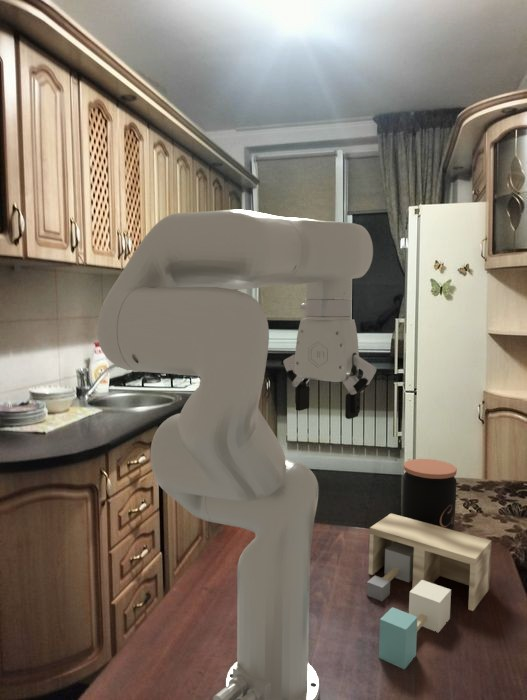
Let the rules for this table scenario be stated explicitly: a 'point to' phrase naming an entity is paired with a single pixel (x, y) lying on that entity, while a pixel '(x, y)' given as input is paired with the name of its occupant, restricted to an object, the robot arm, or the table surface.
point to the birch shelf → (435, 553)
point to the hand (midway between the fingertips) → (326, 413)
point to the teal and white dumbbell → (413, 622)
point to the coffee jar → (429, 492)
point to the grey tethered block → (392, 570)
